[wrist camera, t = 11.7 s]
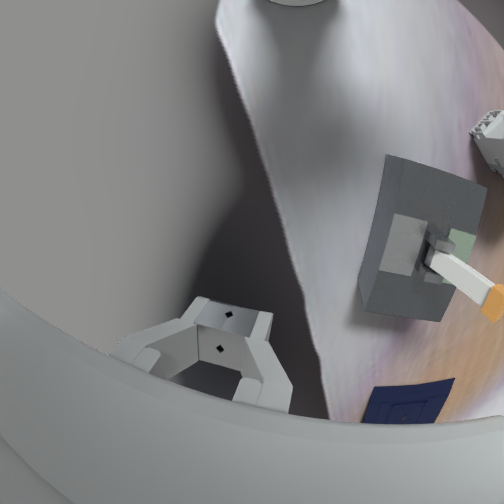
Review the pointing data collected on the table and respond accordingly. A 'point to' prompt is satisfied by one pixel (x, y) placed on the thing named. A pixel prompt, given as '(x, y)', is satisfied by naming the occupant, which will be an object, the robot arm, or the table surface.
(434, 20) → the table surface
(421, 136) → the table surface
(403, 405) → the dark blue panel
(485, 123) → the circuit breaker
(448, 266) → the lever
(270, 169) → the table surface
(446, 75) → the table surface
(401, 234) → the box
